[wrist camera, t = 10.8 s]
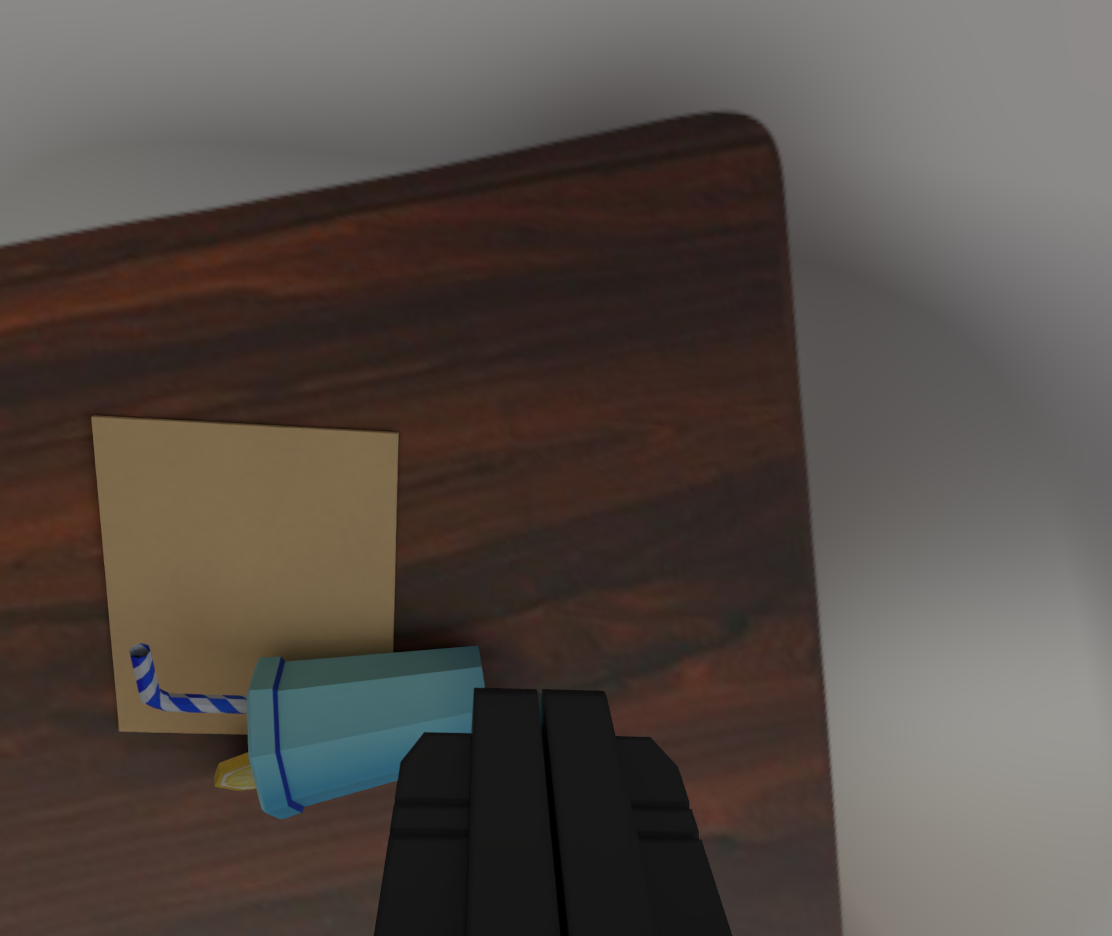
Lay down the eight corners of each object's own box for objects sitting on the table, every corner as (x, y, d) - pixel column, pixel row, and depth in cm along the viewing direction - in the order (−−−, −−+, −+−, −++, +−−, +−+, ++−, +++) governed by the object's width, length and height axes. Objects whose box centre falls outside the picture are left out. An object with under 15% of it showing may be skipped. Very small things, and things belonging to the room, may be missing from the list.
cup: (462, 533, 41) (130, 584, 39) (482, 666, 35) (94, 733, 33) (486, 704, 50) (218, 752, 48) (505, 832, 44) (202, 892, 42)
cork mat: (398, 431, 42) (398, 433, 41) (391, 734, 47) (390, 738, 47) (93, 414, 40) (90, 416, 40) (121, 728, 46) (118, 731, 45)
